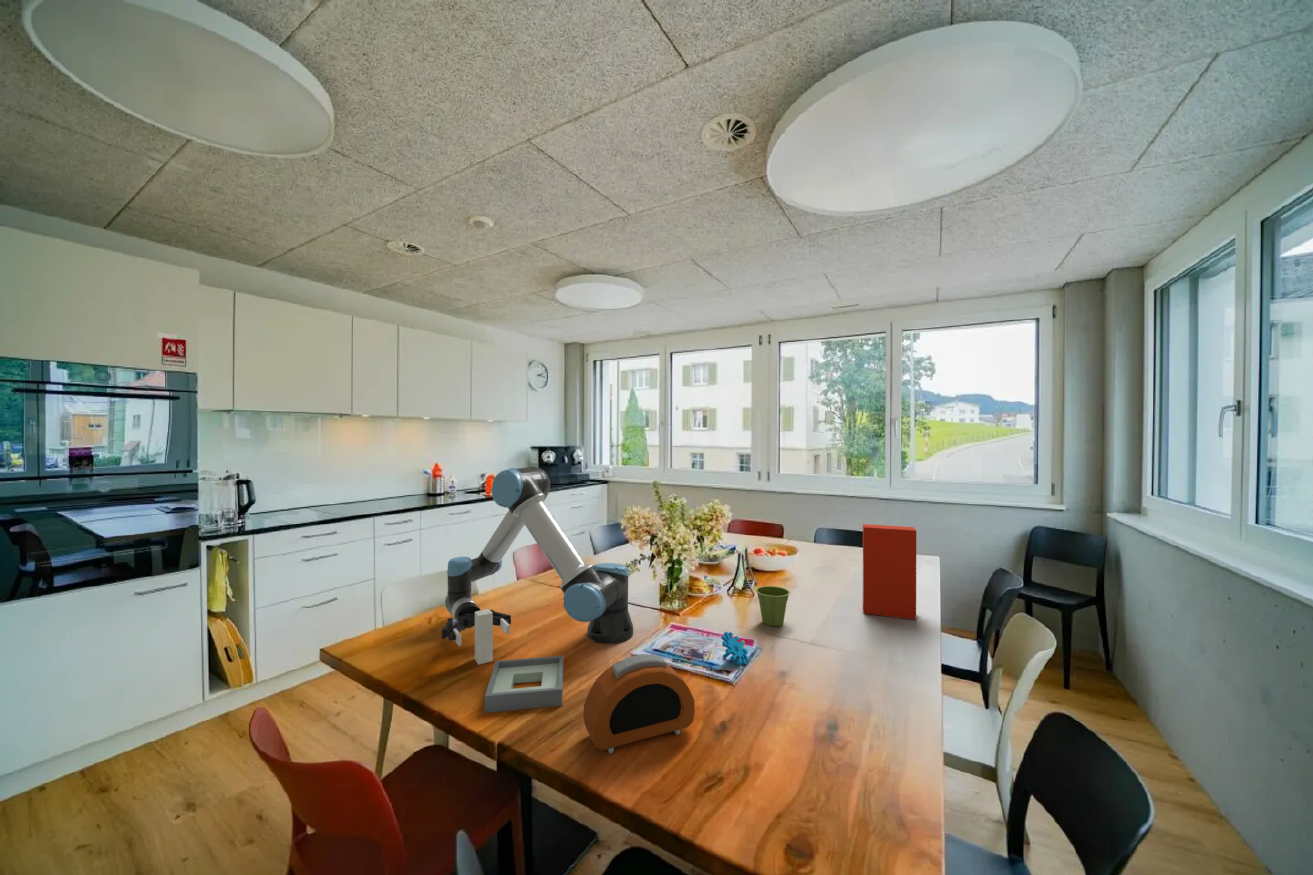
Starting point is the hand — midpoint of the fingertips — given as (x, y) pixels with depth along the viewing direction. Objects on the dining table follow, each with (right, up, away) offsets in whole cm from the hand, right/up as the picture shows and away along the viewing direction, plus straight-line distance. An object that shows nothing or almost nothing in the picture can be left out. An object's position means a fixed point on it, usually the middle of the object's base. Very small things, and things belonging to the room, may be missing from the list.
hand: (484, 635), depth 139 cm
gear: (+73, -8, +2) cm, 73 cm away
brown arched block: (+46, -8, -33) cm, 57 cm away
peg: (-1, -8, +2) cm, 8 cm away
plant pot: (+90, -8, +30) cm, 96 cm away
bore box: (+16, -8, -14) cm, 23 cm away
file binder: (+136, -8, +39) cm, 141 cm away
